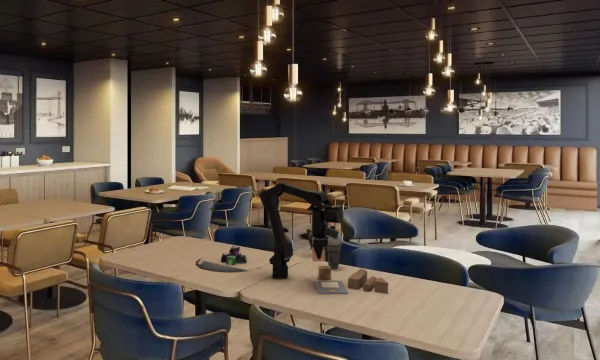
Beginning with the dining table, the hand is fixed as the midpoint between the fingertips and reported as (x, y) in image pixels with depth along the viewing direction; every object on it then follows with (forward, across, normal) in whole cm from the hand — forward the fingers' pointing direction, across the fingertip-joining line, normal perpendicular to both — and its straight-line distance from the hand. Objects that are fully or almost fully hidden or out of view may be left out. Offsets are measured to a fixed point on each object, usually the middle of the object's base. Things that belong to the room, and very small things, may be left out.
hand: (318, 257), depth 215 cm
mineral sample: (+11, +35, +40) cm, 54 cm away
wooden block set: (+13, -1, -23) cm, 26 cm away
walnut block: (+12, +10, -4) cm, 16 cm away
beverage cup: (+12, +26, -10) cm, 30 cm away
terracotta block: (+1, 0, 0) cm, 1 cm away
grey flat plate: (+12, -4, -5) cm, 13 cm away
